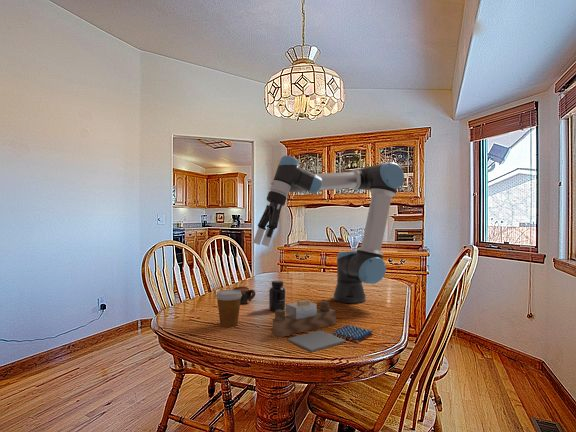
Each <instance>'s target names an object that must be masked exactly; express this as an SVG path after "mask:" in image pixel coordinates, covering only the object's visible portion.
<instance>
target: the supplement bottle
mask: <svg viewBox="0 0 576 432" xmlns="http://www.w3.org/2000/svg"><path fill="white" fill-rule="evenodd" d="M268 292H269V295H268V297H269V299H268V308H269V310H270V311H272V312H275V310H279V309H280V310H283V311H286V288H285V287H284V281H282V280H271V287H270V288H269V290H268Z"/></svg>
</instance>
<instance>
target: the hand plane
mask: <svg viewBox="0 0 576 432" xmlns="http://www.w3.org/2000/svg"><path fill="white" fill-rule="evenodd" d="M319 305H320V309H317V315H315V316H311V317H306V318H301V319H297V320H296V319H293V318H291V317H288V316H286V310H280V309H279V310H275V311H274V318H272V335H274V336H276V337H278V338H283V337H287V336H291V335H294V334H295V335H296V334H299V333H304V332H309V331H314V330H316V329H319V328H324V327H328V326H332V325H333V324H334V325H336V324H337V310H335V309H332V308H330V302H329V301H327V300H326V301H320V304H319ZM334 325H333V326H334Z"/></svg>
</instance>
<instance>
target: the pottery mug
mask: <svg viewBox="0 0 576 432" xmlns="http://www.w3.org/2000/svg"><path fill="white" fill-rule="evenodd" d="M232 290H239V291H241V294H242V296H241V301H240V305H247V304H248V302H250V303H251V301H252V300H253V299H254V298H256V297H255V296H256V291H255V290H254V289H250V288H249V287H248V286H238V287H237V286H236V287H233V289H232Z"/></svg>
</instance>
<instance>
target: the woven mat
mask: <svg viewBox="0 0 576 432" xmlns="http://www.w3.org/2000/svg"><path fill="white" fill-rule="evenodd" d="M373 332H374V331H373V330H370V329H368V328H367V329H366V328H361V327H359V326H354V325H350V324H348V325H345V326H343V327H340V328H338V329H335V330H333V331H332V333H331V334H332V335H334V336H338V337H340V338H342V339H344V340H347V339H349V340H348V341H350V340H352V341H354V342H356V343H359V342H362V341H363V340H366V339H367V338H369V337H371V336H373V335H374V333H373ZM370 335H371V336H370ZM343 337H344V338H343ZM346 338H347V339H346Z"/></svg>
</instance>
